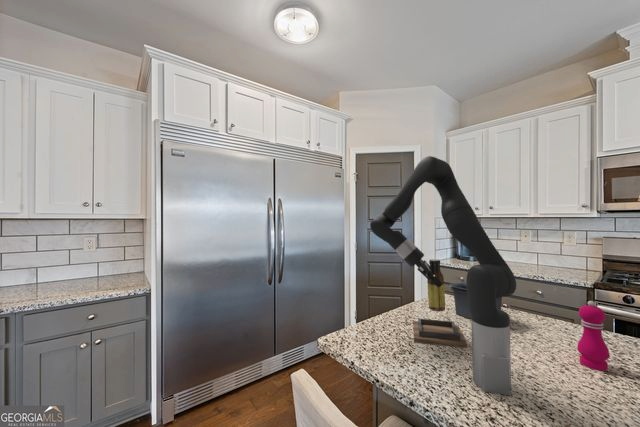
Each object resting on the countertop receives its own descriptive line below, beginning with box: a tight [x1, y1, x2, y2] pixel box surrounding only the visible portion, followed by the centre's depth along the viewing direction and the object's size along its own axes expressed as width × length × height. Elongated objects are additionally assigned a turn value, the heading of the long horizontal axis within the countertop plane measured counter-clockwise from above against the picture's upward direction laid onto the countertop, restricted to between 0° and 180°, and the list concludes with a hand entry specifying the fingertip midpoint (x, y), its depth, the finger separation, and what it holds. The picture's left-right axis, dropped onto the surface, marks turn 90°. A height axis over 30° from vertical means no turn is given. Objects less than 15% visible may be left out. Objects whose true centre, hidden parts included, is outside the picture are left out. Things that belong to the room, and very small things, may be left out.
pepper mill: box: [576, 300, 610, 371], centre depth 87 cm, size 7×7×20 cm
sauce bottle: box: [426, 258, 446, 312], centre depth 111 cm, size 7×6×20 cm
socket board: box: [412, 318, 468, 349], centre depth 110 cm, size 18×18×4 cm
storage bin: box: [449, 281, 503, 319], centre depth 129 cm, size 21×16×14 cm
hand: (440, 283), depth 110 cm, fingers closed on sauce bottle, 6 cm apart
